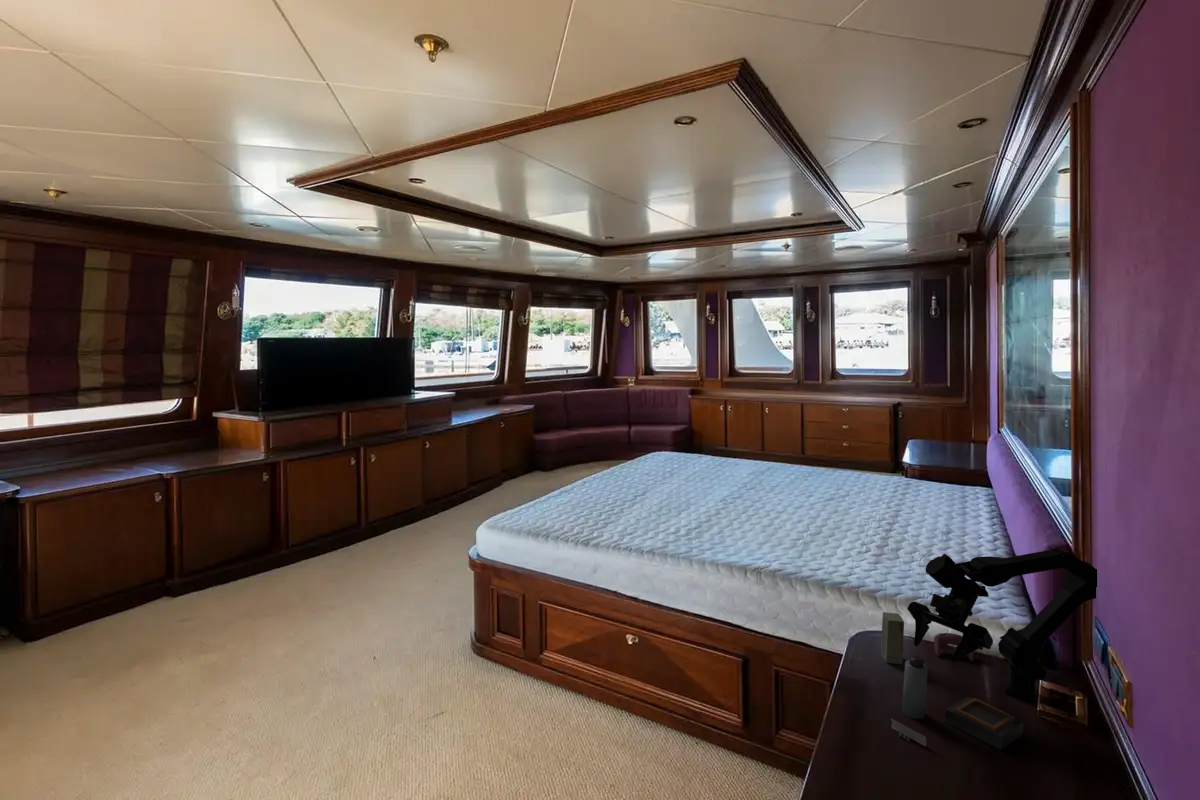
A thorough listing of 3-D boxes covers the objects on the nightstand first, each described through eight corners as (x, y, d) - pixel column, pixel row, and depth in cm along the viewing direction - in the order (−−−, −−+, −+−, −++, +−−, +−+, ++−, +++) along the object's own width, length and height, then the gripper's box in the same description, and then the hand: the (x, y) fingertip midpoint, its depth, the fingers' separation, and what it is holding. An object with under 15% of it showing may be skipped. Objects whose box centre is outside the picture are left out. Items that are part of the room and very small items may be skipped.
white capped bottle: (905, 704, 150) (909, 651, 149) (927, 713, 147) (930, 658, 146) (899, 713, 147) (902, 659, 146) (921, 721, 144) (924, 666, 142)
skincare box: (902, 665, 169) (905, 622, 168) (885, 663, 170) (888, 620, 169) (896, 654, 176) (898, 612, 175) (880, 652, 177) (882, 611, 176)
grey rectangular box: (967, 708, 149) (968, 693, 149) (1022, 735, 139) (1023, 719, 139) (944, 721, 144) (946, 705, 144) (1000, 750, 134) (1001, 733, 134)
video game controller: (971, 662, 175) (970, 636, 177) (975, 662, 171) (974, 635, 173) (932, 656, 178) (932, 630, 181) (935, 656, 174) (935, 630, 177)
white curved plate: (916, 753, 133) (917, 740, 132) (882, 733, 139) (882, 721, 139) (925, 747, 135) (926, 734, 135) (891, 728, 141) (892, 716, 141)
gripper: (913, 570, 159) (885, 621, 154) (990, 595, 143) (962, 653, 138) (928, 594, 164) (902, 643, 159) (1004, 621, 148) (977, 677, 143)
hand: (933, 653), depth 150 cm, fingers open, 9 cm apart
